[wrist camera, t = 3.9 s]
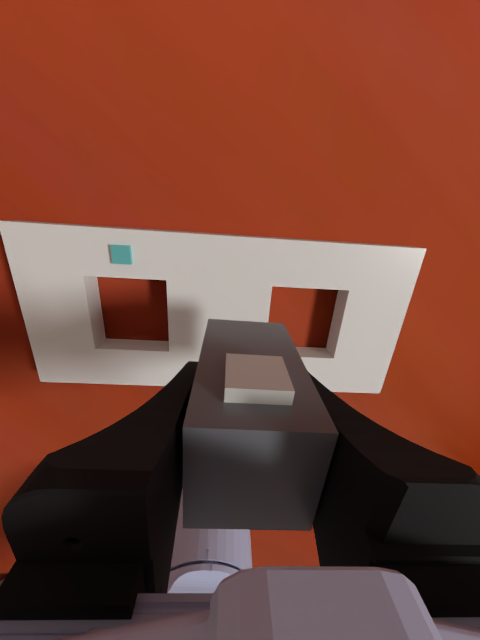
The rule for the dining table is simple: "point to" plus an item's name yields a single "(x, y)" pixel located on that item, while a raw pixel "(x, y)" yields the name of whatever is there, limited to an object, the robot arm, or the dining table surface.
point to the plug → (253, 432)
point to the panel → (202, 298)
